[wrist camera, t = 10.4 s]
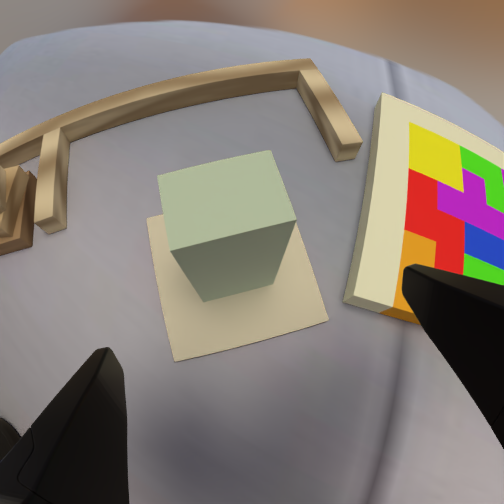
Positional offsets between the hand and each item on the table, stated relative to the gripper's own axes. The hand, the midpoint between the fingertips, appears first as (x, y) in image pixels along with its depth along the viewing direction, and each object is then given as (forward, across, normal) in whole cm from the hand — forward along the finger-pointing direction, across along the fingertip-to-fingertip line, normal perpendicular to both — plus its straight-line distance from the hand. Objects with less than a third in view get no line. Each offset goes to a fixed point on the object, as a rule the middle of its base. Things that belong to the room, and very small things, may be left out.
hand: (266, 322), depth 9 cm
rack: (+23, +6, -4) cm, 24 cm away
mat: (+13, 0, +5) cm, 14 cm away
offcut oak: (+19, +19, -3) cm, 27 cm away
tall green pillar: (+13, 0, +5) cm, 14 cm away
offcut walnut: (+21, +19, -2) cm, 28 cm away
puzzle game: (+8, -23, +11) cm, 27 cm away
